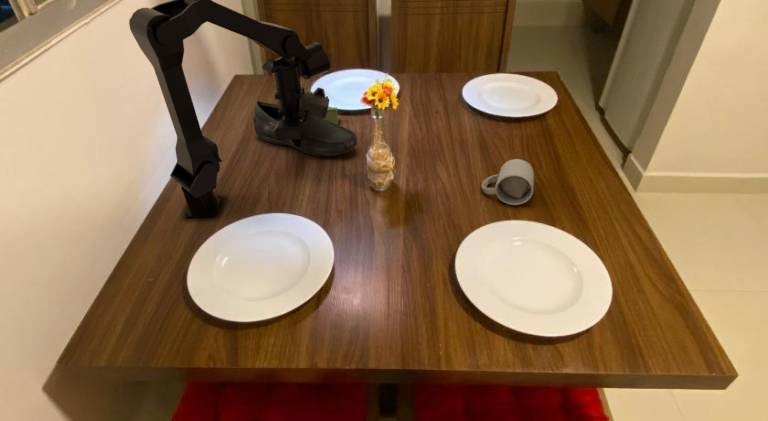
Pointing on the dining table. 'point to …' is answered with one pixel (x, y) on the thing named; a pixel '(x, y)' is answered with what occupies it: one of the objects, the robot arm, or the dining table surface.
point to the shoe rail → (332, 115)
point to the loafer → (317, 136)
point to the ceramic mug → (512, 182)
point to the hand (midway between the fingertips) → (298, 146)
